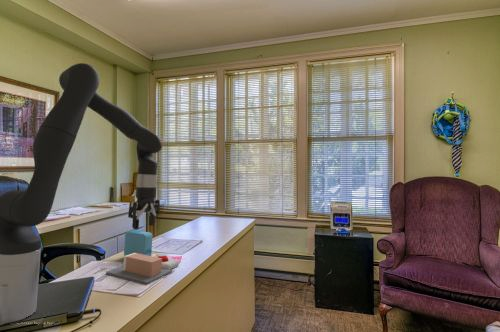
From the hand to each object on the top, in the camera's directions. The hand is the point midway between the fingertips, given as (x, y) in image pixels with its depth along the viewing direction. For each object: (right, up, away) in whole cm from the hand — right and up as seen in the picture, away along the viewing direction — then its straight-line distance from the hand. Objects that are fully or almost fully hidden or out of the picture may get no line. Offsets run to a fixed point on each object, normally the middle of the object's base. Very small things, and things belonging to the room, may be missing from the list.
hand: (143, 227), depth 108 cm
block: (+6, -15, -3) cm, 16 cm away
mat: (-1, -18, 0) cm, 18 cm away
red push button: (+5, -19, +10) cm, 22 cm away
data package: (-10, -18, +17) cm, 27 cm away
